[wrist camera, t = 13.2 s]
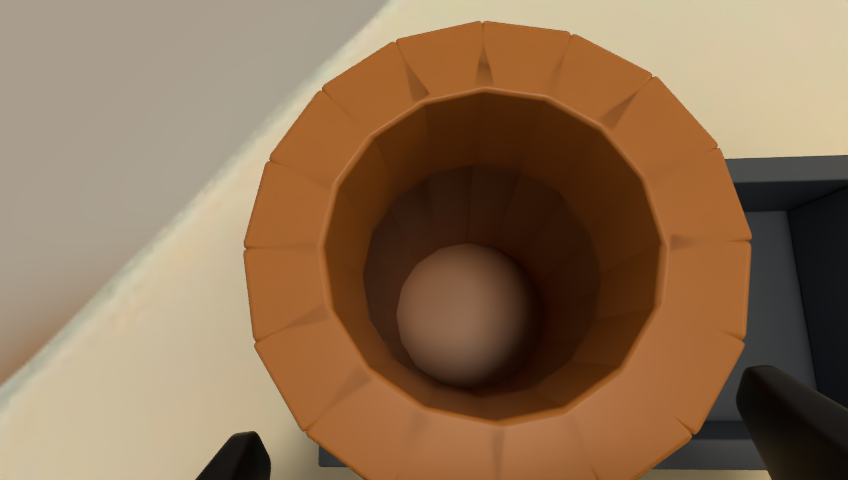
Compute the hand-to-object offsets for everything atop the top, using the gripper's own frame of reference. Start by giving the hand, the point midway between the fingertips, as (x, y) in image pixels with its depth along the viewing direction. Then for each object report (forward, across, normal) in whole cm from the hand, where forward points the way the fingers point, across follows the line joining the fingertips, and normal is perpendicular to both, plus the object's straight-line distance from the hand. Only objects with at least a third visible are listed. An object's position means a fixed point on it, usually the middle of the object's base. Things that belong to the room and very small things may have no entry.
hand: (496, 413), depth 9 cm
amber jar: (+8, 0, +4) cm, 9 cm away
